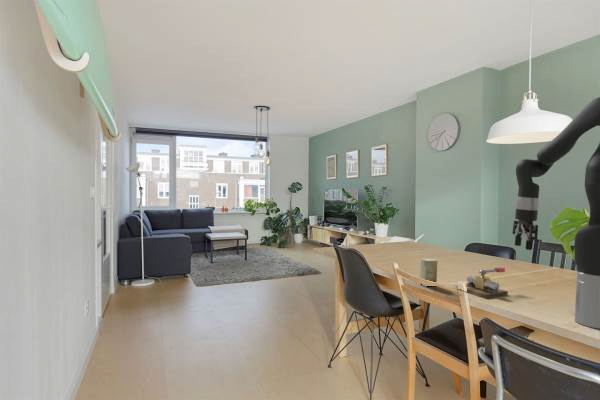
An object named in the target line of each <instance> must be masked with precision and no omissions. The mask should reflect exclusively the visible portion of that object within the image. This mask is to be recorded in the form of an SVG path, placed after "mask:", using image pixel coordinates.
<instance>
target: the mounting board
mask: <svg viewBox="0 0 600 400" xmlns="http://www.w3.org/2000/svg"><path fill="white" fill-rule="evenodd" d="M465 285H466V287H467V292H468V293H467V292H466V293H467V294H470V295H474V296H477V297H479V298H483V299H490V298H496V297H497V298H498V297H503V296H508V295H509V294H508V293H509V292H508V291H507V290H505V289H501V288H499V289H498V293H495V294H491V293H488V289H485V290H482V289H479V288H476V287H469V286H467V284H465Z"/></svg>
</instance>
